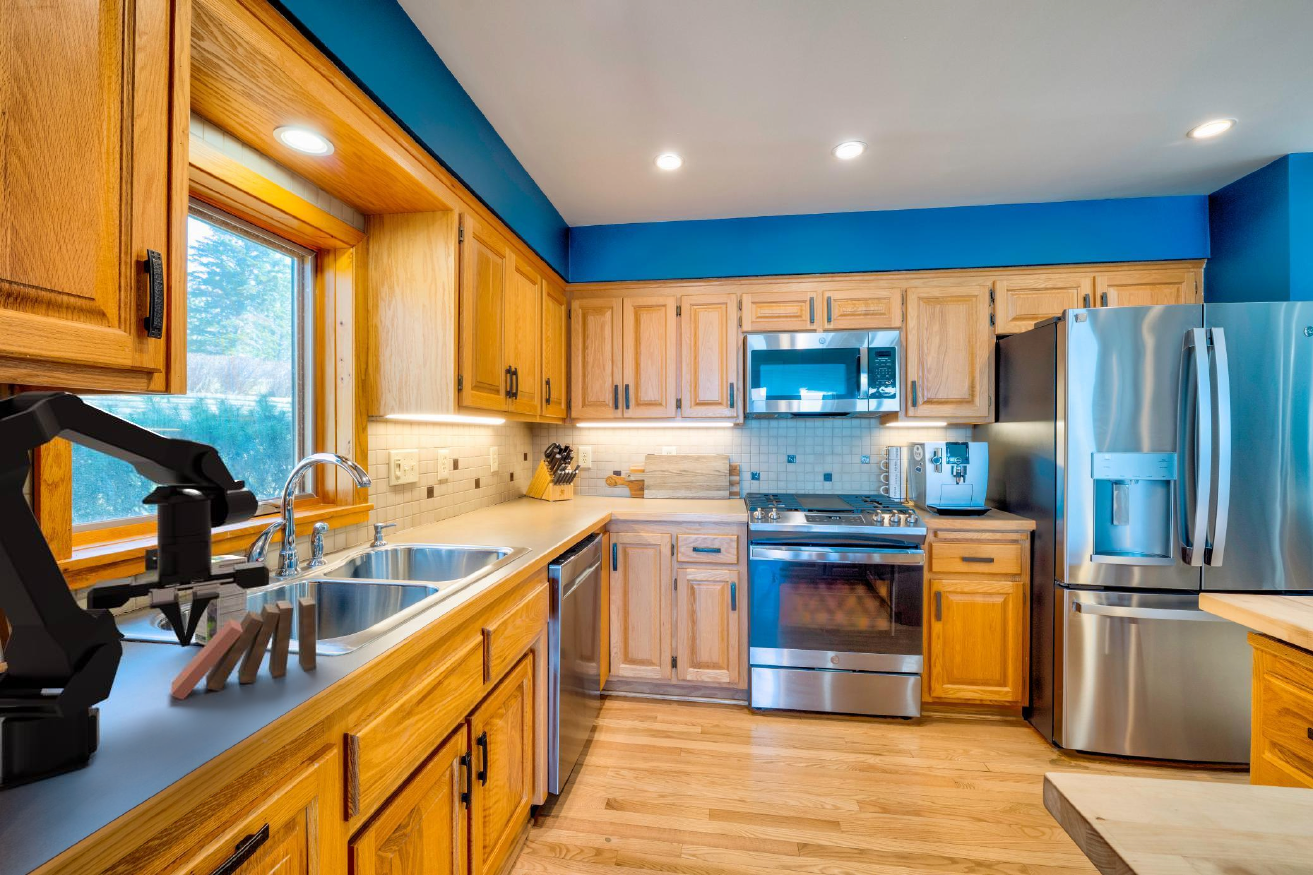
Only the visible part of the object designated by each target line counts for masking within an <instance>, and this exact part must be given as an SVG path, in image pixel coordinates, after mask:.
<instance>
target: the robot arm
mask: <svg viewBox="0 0 1313 875" xmlns="http://www.w3.org/2000/svg"><path fill="white" fill-rule="evenodd" d="M56 437H57V438H59V439H62V440H65V441H68V442H70V443H73V444H76V445H80V446H82V447H83V448H84V447H85V448H88V449H90V450H93V451H96V452H99V453H101V454H104V455H107V456H110V457H112V458H115V459H118V460H121V461H122V462H123V461H124V462H126V463H128V464H130V465H131V466H133V468H134V470H135V471H136V473H137V474H138V475H140V476H142V477H143V478H145V479H147V480H149V481H150V482H153V484H156V485H158V486H156V487H155V489H154V490H153V491H152V492H151V493H149V494H148V495H147V496H145V497H144V498H143V499H142V500H141V503H142V505H147V506H148V505H150V506H151V505H154V506H155V505H156V506H157V512H156V514H157V515H156V516H157V527H156V528H157V548H150V549H149V548H148V549H145V557H144V558H145V559H144V562H145V563H144V571H145V573H146V574H151V573H157V580H151V581H144V582H135V583H133V582H134V580H133V577H132V576H131V577H123V578H114V579H107V580H100V581H96V582H95V583H94V584H93V585H92V586H90V588H89V589H88V591H87V593H86V608H85V609H84V608H82V607H81V606H80V605H79V604H78V603H77V601H76V598H75V597H74V595H73V593H72V591H71V589H70V586H69V584H68V582H67V580H66V578H65V577H64V576H65V575H64V574H63V572H62V570H61V567H60V566H59V564H58V562H57V560H56V558H55V556H54V553H53V551H52V549H51V547H50V545H49V543H48V541H47V539H46V537H45V535H44V533H43V531H42V529H41V527H40V524H39V522H38V521H37V518H36V516H35V515H34V512H33V511H32V508H31V506H30V503H29V502H28V499H27V498H26V495H25V493H24V488H25V484H26V482H27V478H28V476H29V473H30V470H31V466H32V460H31V457H30V453H29V451H31V450H35V449H36V448H39V447H41V446H44V445H46V444H49V443H50V442H51V441H52V440H54V439H55V438H56ZM219 453H220V452H219V451H218V449H217V448H216V447H214V446H213V445H211V444H209V443H204V442H201V441H196V440H192V439H191V440H190V439H183V438H176V437H171V436H170V437H168V436H164V435H161V434H159V433H157V432H154V431H152V430H150V429H148V428H145V427H143V426H142V425H141V426H140V425H139V424H136V423H134V422H132V421H129V420H128V419H125V418H123V417H120V416H118V415H116V414H113V413H111V412H109V411H107V410H104V409H102V408H99V407H97V406H95V405H93V404H91V403H88V402H87V401H84V400H83V398H81V397H79V396H78V395H76V394H73V393H71V392H67V391H24V392H21V393H19V394H15V395H12V396H10V397H6V398H5V397H4V398H2V399H0V609H1V610H2V612H3V614H4V616H5V618H6V619H7V622H8V623H9V626H10V628H11V631H10V634H9V637H8V639H7V642H6V645H5V647H4V650H3V656H4V659H5V662H6V666H7V668H6V669H5V670H4V671H3V672H2V674H1V675H0V719H3V720H2V722H1V723H0V729H1V730H0V734H1V735H0V736H1V737H0V738H1V744H0V745H1V748H0V750H1V751H0V756H1V758H0V761H1V763H0V766H1V768H0V769H1V770H0V771H1V772H0V774H1V776H0V791H2V790H6V789H9V788H12V787H17V786H21V785H25V784H28V783H32V782H34V781H38V780H43V779H46V778H49V777H53V776H56V775H61V774H64V773H67V772H71V771H75V770H79V769H82V768H85V767H87V766H89V765H90V762H91V759H92V754H95V753H96V752H97V751H98V748H99V744H100V741H101V740H100V727H101V726H100V708H99V707H98V706H96V707H94V706H95V705H97V704H99V703H101V702H104V701H105V700H107V699H109V697H110V695H111V692H112V689H113V685H114V681H115V678H116V675H117V672H118V670H119V665H120V663H121V659H122V657H123V653H124V652H123V651H124V650H123V648H124V647H123V644H122V641H121V640H122V639H124V638H125V634H124V633H122V632H121V631H120V629H119V627H118V626H117V624H116V619H115V616H114V613H112V611H111V610H112V609H118V608H123V606H125V605H126V604H127V603H128V602H129V601H130V599H134V598H142V597H147V599H148V600H149V603H148V604H149V605H148V609H149V610H156V609H159V610H160V611H161V613H162V614H163V616H165V618H166V620H167V621H168V622H169V624H170V625H171V628H172V630H173V632H174V634H175V636H176V637H177V640H178V642H179V644H180V647H181V648H185V647H189V646H190V645H191V643H192V640H193V639H194V638H193V637H194V636H195V630H196V628H197V625H198V623H199V620H200V618H201V616H202V615H203V613H204V611H205V609H206V608H207V606H208V604H209V602H210V601H211V600H214V599H218V598H220V594H219V590H218V588H220V585H227V584H234V583H236V585H237V586H239V587H241V588H242V589H247V590H248V589H252V588H253V589H254V588H259V587H260V588H261V587H265V586H269V585H270V569H269V568H268V566H267V564H265V563H264V562H263V561H253V562H247V563H243V564H235V565H233V571H227V572H219V573H212V557H213V556H212V554H213V553H212V549H213V548H212V529H216V528H221V527H227V526H231V525H235V524H241V523H245V522H248V521H250V520H252V519H253V518H254V517H255V516H256V514H257V511H258V509H259V501H258V499H257V497H256V495H255V494H254V492H253V491H251V489H249V488H247V487H246V481H245V480H244V479H235V478H234V477H233V476H232V473H231V472H230V471H229V469H228V467H227V466H226V464H225V463H224V461H223V459H222V458H221V456H220V455H219ZM190 590H192V591H191V598H190V604H189V609H188V610H189V611H188V617H187V622H186V627H185V623H184V618H183V612H182V607H181V602H180V601H181V600H180V595H179V592H184V591H185V592H186V591H190ZM44 689H45V690H50V689H51V690H53V689H55V690H57V689H58V690H59V689H61V690H62V691H60V692H43V690H44Z"/></svg>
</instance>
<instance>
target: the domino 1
mask: <svg viewBox="0 0 1313 875" xmlns="http://www.w3.org/2000/svg"><path fill="white" fill-rule="evenodd" d="M242 633H243V632H242V628H241V625H240V623H238V622H236V621H234V620H232V619H229V620H228V621H227V622H226V623H225V625H224V626H223V627H222V628H221V629H220V630H219V631H218V632H217V633H216V634H215V636H214V637H213V638H212V639H211V640H210V641H209V642H208V643H207V644H206V645H204V647H202V649H201V650H200V651H199V652H198V653H197V654H196V655H195V656H194V657H193V659H191V661H190V662H189V663H188V665H186V666H185V667H184V669H182V671H181V672H180V673H179V674H178V676H176V677H175V679H174V680H173V681H171V689H170V690H171V692H170V695H171V696H173V697H175V698H177V699H180V700H182V701H183V700H184V699H185V698H187V696H188V695H189V694H190V693H191V692H192V691H193V690H194V689H195V687H197V685H198V684H199V683H200V681H201V680H203V678H204V677H206V676H207V674H208V673H209V671H210V670H211V668H212V667H213V666H214V664H215V663H216V662H217V661H218V660H219V659H220V658H221V656H222V655H223V654H224V653H225V652H226V651H227V650H228V649H229V647H230V646H231V645H232V644H233V643H234V642H235V641H236V640H237V638H238V637H239V636H240V635H241V634H242Z"/></svg>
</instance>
